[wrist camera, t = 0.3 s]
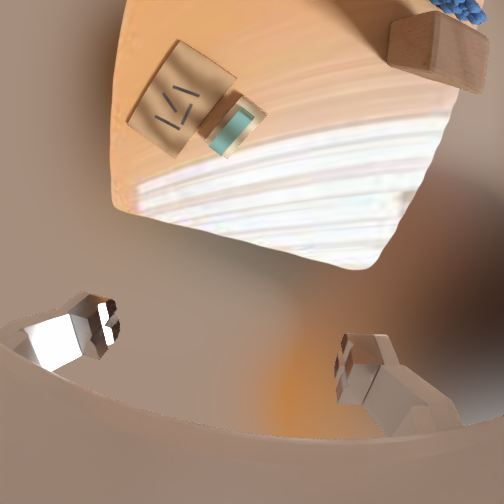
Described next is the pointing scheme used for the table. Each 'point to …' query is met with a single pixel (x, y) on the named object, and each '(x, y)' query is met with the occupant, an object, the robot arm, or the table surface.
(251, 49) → the table surface
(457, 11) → the grapes
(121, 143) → the table surface
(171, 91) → the wooden board
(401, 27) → the wooden block
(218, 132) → the block
